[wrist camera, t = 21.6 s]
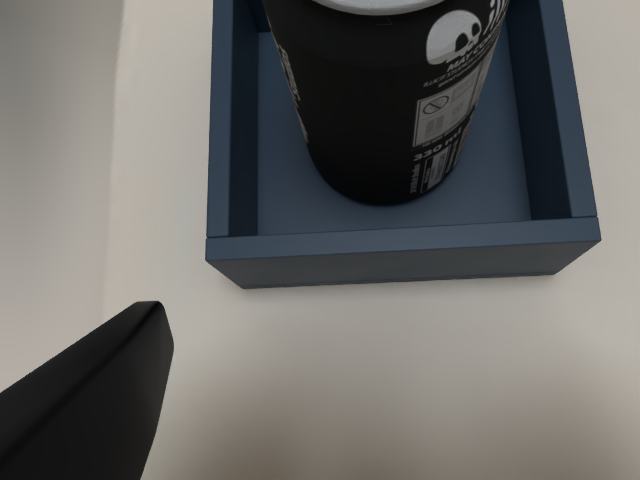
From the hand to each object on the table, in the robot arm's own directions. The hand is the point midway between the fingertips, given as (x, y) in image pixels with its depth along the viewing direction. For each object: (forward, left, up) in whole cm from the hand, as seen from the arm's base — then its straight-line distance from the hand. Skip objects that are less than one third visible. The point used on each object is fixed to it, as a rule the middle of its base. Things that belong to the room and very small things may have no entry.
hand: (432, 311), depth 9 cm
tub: (+6, +7, -14) cm, 17 cm away
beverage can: (+6, +7, -13) cm, 16 cm away
